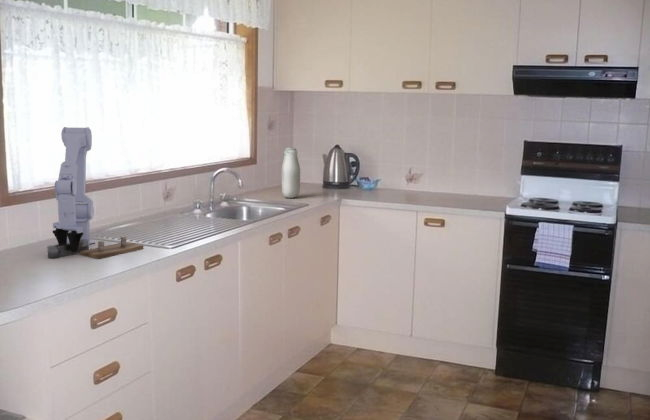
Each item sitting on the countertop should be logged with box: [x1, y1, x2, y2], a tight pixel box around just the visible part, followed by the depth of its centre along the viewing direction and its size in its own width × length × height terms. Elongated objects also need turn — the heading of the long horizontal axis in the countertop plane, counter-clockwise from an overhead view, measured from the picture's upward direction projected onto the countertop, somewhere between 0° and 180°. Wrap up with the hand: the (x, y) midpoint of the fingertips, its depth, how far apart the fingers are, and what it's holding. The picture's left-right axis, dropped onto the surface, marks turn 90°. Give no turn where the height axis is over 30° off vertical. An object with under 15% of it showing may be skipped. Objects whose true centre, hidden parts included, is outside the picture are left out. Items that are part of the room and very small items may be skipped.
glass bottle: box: [280, 146, 301, 199], centre depth 381 cm, size 10×10×28 cm
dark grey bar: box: [46, 239, 90, 260], centre depth 247 cm, size 4×16×4 cm, turn 146°
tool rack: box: [80, 236, 144, 260], centre depth 252 cm, size 10×20×4 cm, turn 146°
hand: (68, 250), depth 247 cm, fingers open, 6 cm apart
